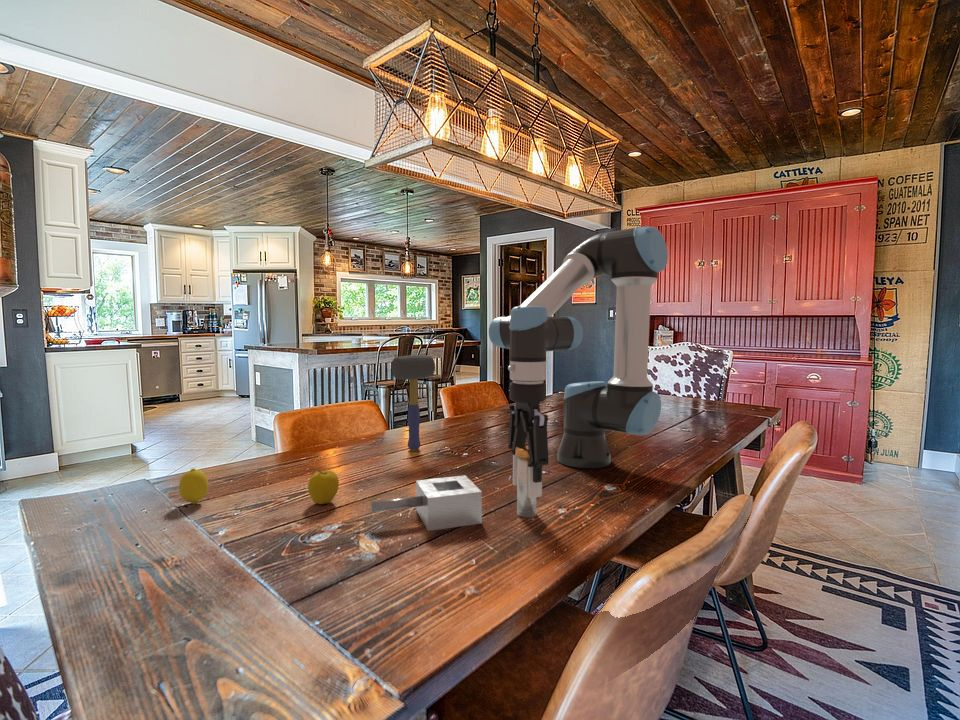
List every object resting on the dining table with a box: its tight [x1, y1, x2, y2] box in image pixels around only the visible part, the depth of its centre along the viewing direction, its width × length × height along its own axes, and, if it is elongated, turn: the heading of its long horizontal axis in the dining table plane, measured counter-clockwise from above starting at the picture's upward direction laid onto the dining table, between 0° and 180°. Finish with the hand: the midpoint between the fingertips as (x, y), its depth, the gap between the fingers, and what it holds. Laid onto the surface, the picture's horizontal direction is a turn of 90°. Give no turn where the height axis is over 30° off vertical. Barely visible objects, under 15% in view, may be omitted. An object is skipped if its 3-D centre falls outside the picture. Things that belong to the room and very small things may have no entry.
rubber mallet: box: [391, 354, 436, 452], centre depth 151 cm, size 12×8×30 cm, turn 126°
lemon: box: [178, 468, 209, 505], centre depth 107 cm, size 6×6×8 cm
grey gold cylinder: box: [516, 445, 537, 519], centre depth 101 cm, size 5×5×14 cm
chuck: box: [370, 475, 483, 532], centre depth 98 cm, size 21×11×6 cm, turn 109°
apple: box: [307, 470, 340, 505], centre depth 107 cm, size 6×6×8 cm
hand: (526, 490), depth 102 cm, fingers open, 7 cm apart
